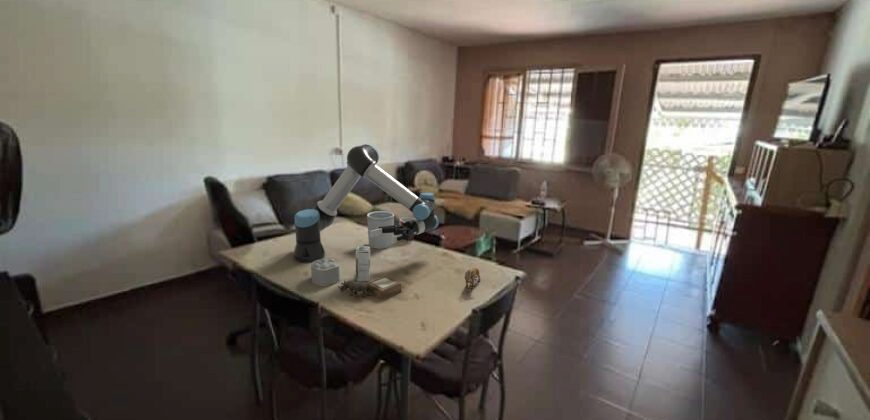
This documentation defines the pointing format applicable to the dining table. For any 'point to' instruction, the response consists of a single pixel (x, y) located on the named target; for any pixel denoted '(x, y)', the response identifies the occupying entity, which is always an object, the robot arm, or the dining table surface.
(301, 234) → the robot arm
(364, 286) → the rhino figurine
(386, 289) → the walnut plinth
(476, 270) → the lion figurine
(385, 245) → the utensil holder
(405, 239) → the plastic cup
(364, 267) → the syrup box
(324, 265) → the lumpy-topped squat cylinder
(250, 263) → the dining table surface
